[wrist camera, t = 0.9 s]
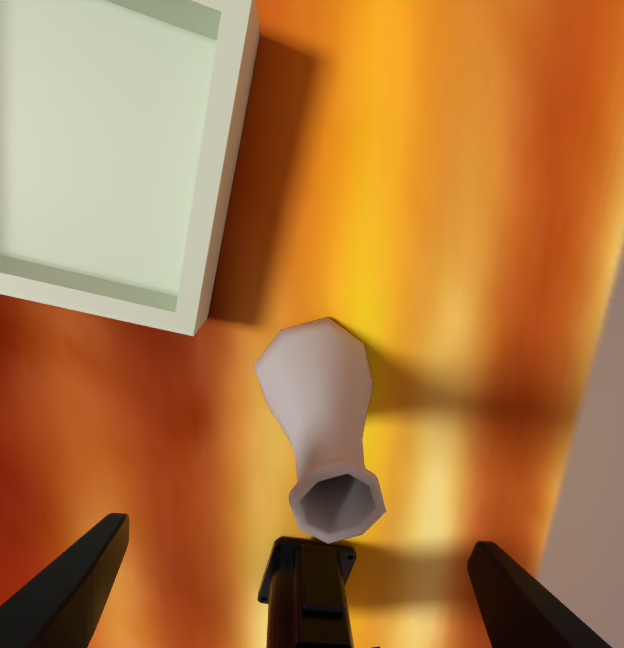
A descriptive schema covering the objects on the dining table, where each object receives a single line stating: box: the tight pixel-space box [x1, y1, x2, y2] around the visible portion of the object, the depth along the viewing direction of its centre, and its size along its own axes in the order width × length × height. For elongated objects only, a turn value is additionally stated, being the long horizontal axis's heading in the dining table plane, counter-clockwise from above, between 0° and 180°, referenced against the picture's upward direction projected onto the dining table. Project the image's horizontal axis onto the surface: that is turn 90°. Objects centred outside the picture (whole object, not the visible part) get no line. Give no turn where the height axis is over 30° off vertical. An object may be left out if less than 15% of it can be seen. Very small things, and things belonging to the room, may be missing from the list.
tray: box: [0, 0, 260, 336], centre depth 14 cm, size 14×14×3 cm
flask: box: [253, 317, 386, 544], centre depth 16 cm, size 7×7×10 cm
